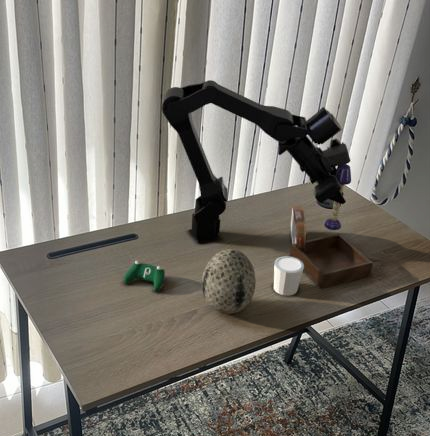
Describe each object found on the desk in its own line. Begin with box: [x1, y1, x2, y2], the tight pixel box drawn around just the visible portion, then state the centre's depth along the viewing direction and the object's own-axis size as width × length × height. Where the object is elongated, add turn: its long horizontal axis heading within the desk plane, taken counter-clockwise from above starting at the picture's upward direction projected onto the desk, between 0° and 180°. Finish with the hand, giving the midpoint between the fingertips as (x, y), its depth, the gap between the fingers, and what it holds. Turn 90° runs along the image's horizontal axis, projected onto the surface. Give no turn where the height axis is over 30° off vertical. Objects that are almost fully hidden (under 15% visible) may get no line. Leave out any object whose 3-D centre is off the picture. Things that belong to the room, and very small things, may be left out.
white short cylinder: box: [273, 255, 304, 297], centre depth 157 cm, size 7×7×7 cm
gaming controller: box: [122, 260, 166, 293], centre depth 156 cm, size 9×4×6 cm
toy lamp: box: [323, 163, 352, 231], centre depth 168 cm, size 5×5×17 cm
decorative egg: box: [201, 248, 257, 315], centre depth 146 cm, size 12×12×15 cm
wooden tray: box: [289, 233, 374, 289], centre depth 167 cm, size 14×14×4 cm
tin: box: [290, 205, 307, 252], centre depth 173 cm, size 15×3×8 cm, turn 179°
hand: (343, 199), depth 168 cm, fingers closed on toy lamp, 3 cm apart
